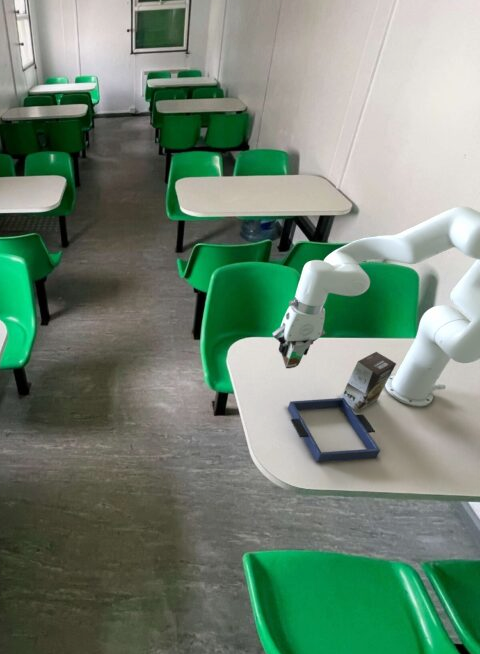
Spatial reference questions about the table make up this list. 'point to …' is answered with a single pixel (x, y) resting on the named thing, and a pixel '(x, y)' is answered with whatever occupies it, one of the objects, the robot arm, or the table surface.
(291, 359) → the food container
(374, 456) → the roasting pan
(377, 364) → the coffee box
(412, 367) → the robot arm
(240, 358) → the table surface
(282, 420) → the table surface
